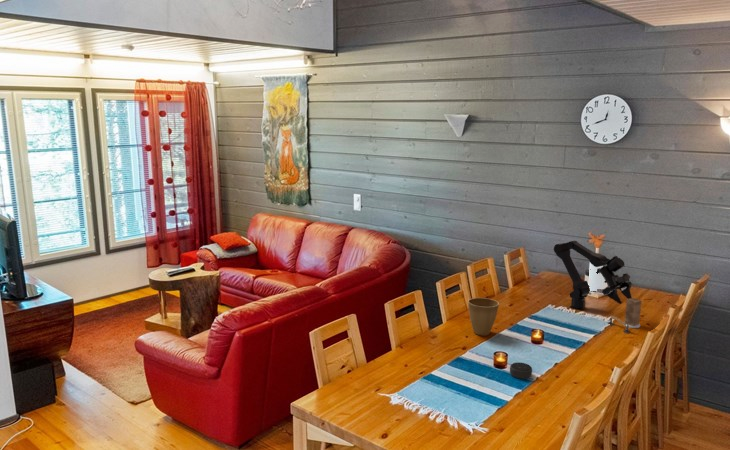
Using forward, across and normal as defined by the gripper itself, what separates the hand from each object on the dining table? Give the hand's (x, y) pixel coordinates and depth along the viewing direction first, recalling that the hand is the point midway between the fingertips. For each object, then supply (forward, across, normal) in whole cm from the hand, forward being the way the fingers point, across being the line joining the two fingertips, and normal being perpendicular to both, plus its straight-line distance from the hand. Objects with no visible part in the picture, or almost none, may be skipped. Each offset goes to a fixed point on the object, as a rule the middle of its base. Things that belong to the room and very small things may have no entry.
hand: (626, 302), depth 307 cm
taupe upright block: (+10, 0, +4) cm, 11 cm away
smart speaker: (+18, -94, -2) cm, 96 cm away
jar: (-24, +37, +42) cm, 61 cm away
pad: (+11, 0, +5) cm, 12 cm away
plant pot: (-12, -74, +29) cm, 80 cm away
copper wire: (+10, -9, +6) cm, 15 cm away
